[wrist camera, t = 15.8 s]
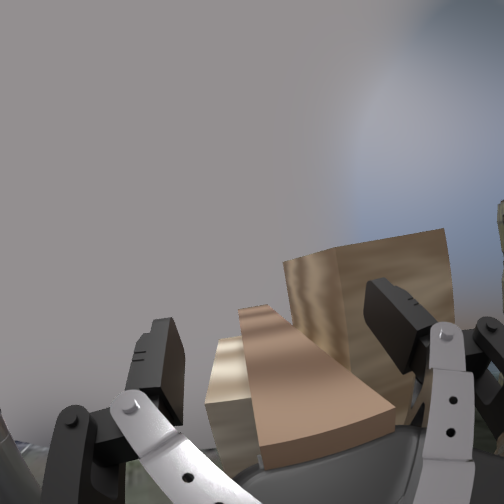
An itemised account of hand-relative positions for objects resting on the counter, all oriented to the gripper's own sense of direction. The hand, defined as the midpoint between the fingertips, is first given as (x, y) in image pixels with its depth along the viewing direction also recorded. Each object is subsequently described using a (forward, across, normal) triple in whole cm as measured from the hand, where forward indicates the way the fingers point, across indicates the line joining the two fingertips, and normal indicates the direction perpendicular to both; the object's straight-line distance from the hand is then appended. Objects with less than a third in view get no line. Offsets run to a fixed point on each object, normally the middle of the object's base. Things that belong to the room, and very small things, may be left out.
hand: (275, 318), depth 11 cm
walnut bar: (+3, 0, +7) cm, 7 cm away
